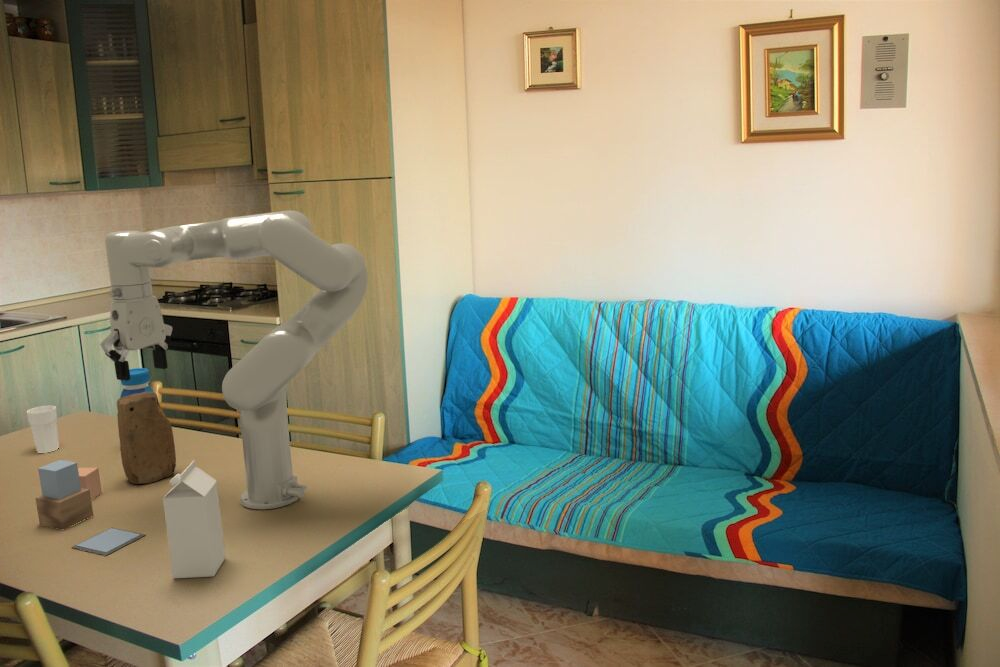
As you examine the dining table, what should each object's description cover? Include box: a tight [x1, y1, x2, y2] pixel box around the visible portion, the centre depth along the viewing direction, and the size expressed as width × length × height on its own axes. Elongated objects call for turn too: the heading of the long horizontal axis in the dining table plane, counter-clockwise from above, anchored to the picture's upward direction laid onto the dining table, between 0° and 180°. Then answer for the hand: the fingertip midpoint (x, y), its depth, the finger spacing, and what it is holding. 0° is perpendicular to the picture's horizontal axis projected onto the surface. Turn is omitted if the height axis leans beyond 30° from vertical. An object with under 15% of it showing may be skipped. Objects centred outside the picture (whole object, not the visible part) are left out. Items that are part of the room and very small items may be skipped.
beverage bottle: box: [119, 367, 155, 398], centre depth 214 cm, size 8×8×20 cm
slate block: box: [37, 459, 81, 500], centre depth 170 cm, size 5×5×6 cm
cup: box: [26, 405, 60, 454], centre depth 214 cm, size 7×7×11 cm
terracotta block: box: [78, 467, 103, 501], centre depth 182 cm, size 5×5×6 cm
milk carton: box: [162, 459, 226, 579], centre depth 146 cm, size 7×7×19 cm
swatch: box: [71, 527, 146, 556], centre depth 160 cm, size 9×9×1 cm
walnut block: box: [35, 488, 94, 530], centre depth 171 cm, size 7×7×6 cm
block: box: [116, 391, 177, 485], centre depth 191 cm, size 11×8×20 cm
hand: (142, 373), depth 173 cm, fingers open, 9 cm apart
